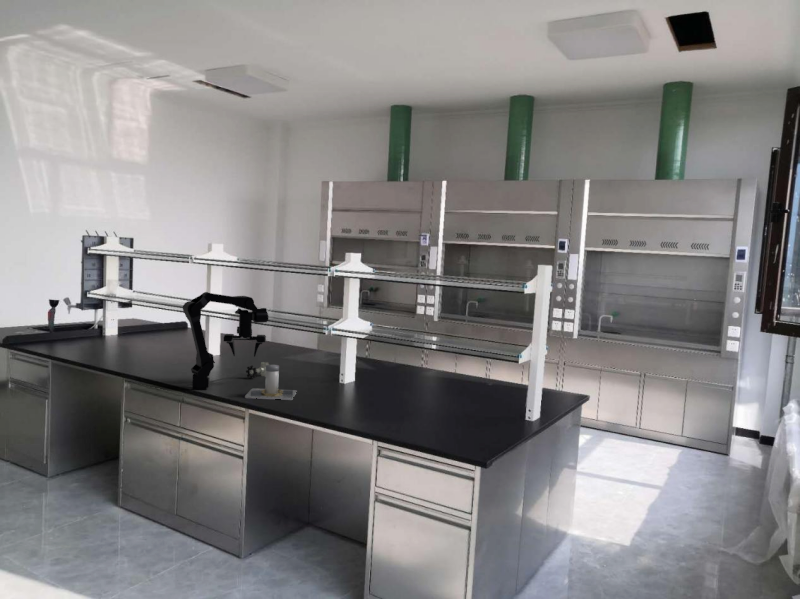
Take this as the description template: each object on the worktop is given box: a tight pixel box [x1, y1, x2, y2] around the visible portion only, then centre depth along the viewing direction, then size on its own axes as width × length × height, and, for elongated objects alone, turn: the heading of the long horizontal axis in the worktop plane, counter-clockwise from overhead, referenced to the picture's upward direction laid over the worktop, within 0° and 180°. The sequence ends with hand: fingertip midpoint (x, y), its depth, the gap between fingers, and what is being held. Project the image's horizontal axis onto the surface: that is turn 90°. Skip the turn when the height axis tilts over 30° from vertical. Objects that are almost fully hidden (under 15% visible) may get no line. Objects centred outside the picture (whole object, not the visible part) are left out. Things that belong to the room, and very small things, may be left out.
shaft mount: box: [244, 387, 298, 401], centre depth 274 cm, size 20×14×2 cm
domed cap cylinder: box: [264, 364, 280, 394], centre depth 274 cm, size 6×6×12 cm
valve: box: [245, 361, 270, 380], centre depth 309 cm, size 7×7×12 cm
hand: (244, 356), depth 292 cm, fingers open, 9 cm apart
